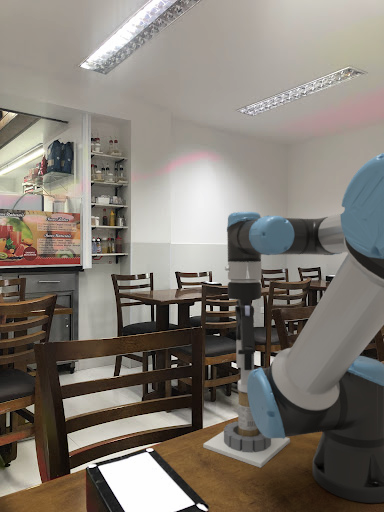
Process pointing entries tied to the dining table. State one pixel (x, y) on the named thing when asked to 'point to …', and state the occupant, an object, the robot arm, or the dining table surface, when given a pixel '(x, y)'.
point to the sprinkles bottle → (245, 414)
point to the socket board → (247, 456)
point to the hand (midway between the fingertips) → (244, 375)
